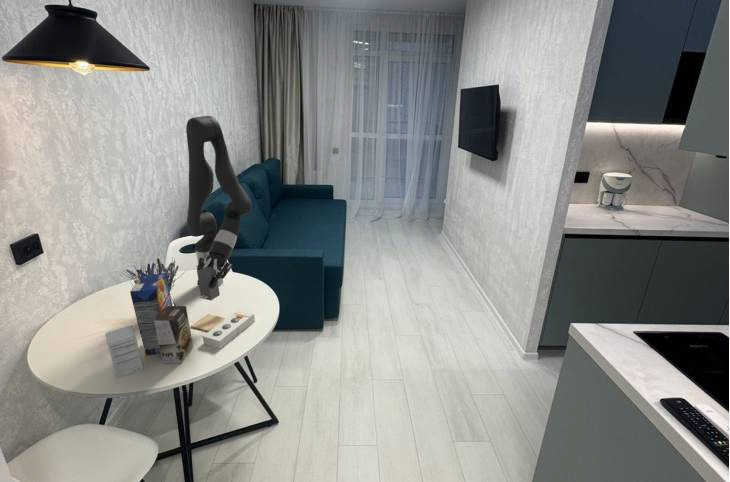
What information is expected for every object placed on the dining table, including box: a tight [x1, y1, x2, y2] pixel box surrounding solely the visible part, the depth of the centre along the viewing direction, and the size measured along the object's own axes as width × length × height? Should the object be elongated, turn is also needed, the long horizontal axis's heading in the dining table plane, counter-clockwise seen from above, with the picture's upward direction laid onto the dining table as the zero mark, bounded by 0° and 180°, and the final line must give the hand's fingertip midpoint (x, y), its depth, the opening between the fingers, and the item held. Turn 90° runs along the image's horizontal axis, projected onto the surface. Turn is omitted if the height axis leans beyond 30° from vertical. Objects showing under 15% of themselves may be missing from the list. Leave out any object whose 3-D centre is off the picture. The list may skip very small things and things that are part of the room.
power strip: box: [202, 309, 256, 349], centre depth 139 cm, size 8×18×4 cm, turn 158°
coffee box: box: [154, 305, 194, 365], centre depth 124 cm, size 9×6×16 cm
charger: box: [196, 267, 220, 302], centre depth 140 cm, size 4×7×11 cm
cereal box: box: [129, 272, 173, 357], centre depth 129 cm, size 12×8×24 cm, turn 13°
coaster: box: [190, 313, 227, 333], centre depth 145 cm, size 9×9×1 cm
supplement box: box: [105, 325, 144, 378], centre depth 119 cm, size 7×7×13 cm
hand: (205, 286), depth 139 cm, fingers closed on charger, 4 cm apart
